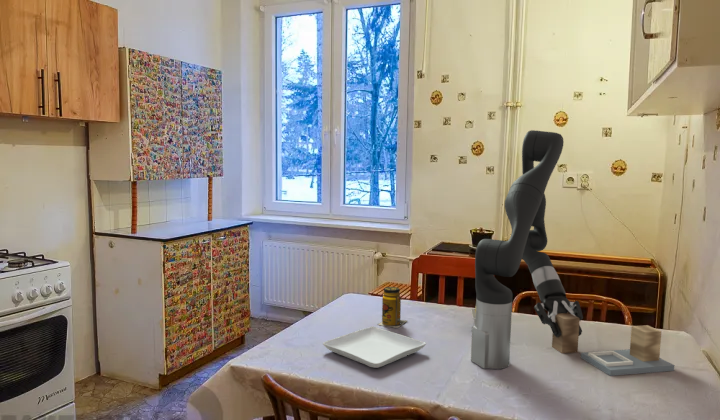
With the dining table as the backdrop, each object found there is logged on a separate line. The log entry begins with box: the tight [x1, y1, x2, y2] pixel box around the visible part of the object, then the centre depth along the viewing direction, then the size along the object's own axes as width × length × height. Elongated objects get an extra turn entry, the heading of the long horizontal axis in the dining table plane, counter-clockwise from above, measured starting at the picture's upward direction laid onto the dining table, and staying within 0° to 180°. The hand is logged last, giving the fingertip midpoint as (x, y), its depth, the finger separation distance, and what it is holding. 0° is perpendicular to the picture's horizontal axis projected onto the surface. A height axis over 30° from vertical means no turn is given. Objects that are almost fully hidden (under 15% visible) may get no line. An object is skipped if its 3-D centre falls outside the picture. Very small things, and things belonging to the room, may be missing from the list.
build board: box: [580, 348, 676, 377], centre depth 138 cm, size 19×12×2 cm, turn 101°
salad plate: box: [322, 326, 427, 369], centre depth 143 cm, size 21×21×3 cm
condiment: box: [377, 286, 408, 329], centre depth 169 cm, size 7×8×12 cm
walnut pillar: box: [551, 312, 581, 354], centre depth 147 cm, size 5×5×10 cm
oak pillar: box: [629, 324, 662, 362], centre depth 139 cm, size 5×5×8 cm
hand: (569, 335), depth 146 cm, fingers open, 5 cm apart
